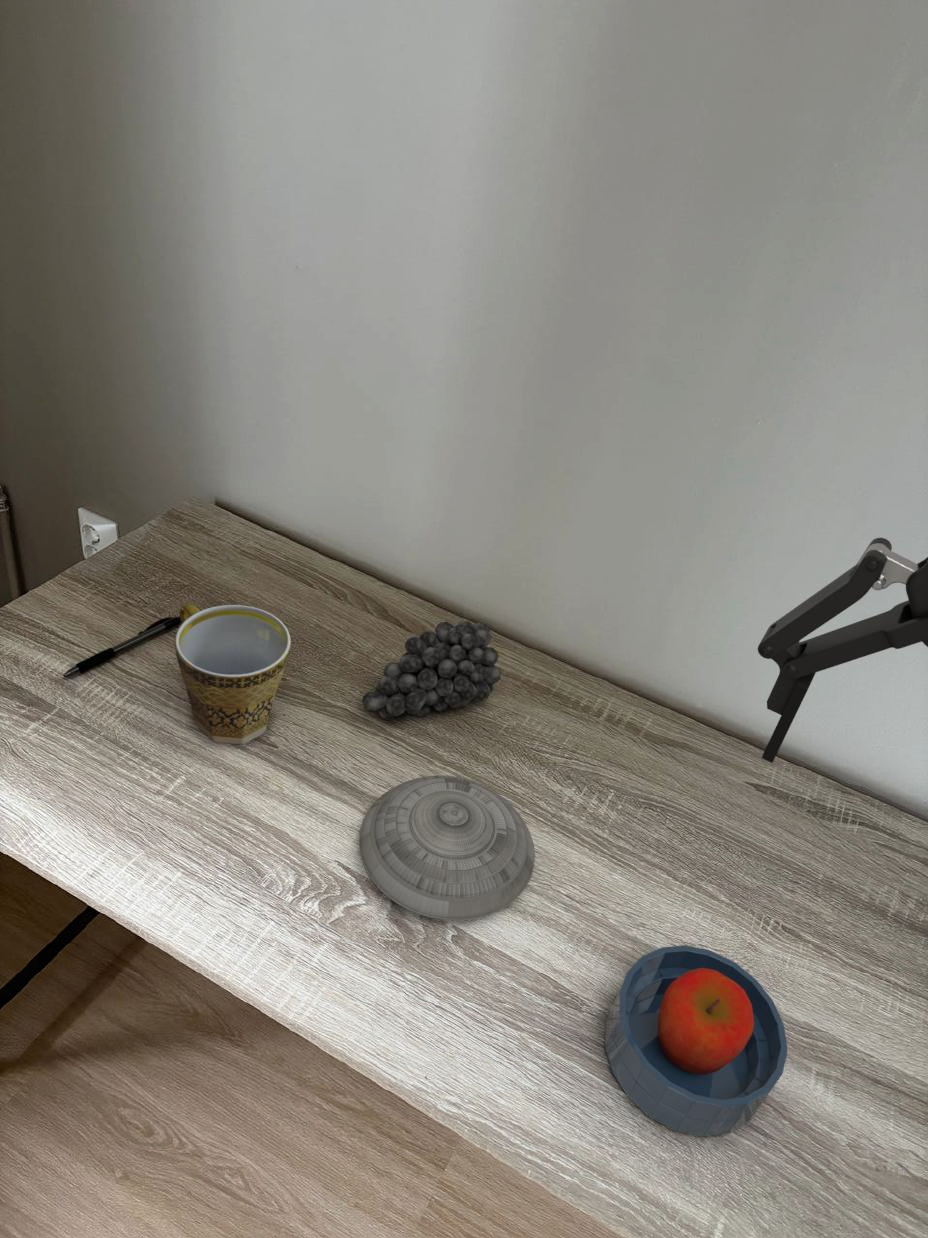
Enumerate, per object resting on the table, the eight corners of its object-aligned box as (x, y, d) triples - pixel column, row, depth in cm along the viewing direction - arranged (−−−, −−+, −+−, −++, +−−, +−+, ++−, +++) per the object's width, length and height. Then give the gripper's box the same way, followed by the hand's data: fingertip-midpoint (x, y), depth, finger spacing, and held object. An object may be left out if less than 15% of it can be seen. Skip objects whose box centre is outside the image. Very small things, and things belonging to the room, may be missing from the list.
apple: (646, 1089, 69) (676, 1034, 65) (639, 1009, 74) (666, 952, 70) (733, 1101, 70) (768, 1047, 65) (720, 1020, 75) (752, 965, 70)
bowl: (797, 1096, 71) (822, 1062, 68) (669, 1170, 66) (690, 1136, 63) (694, 961, 79) (712, 924, 76) (572, 1017, 74) (587, 980, 71)
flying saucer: (414, 764, 92) (422, 722, 88) (559, 838, 87) (572, 797, 84) (322, 873, 81) (326, 829, 77) (481, 964, 76) (493, 922, 73)
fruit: (378, 667, 88) (514, 623, 95) (337, 638, 94) (467, 599, 101) (387, 751, 91) (517, 702, 98) (346, 717, 98) (471, 674, 105)
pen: (178, 616, 103) (178, 607, 102) (188, 623, 102) (188, 615, 102) (58, 674, 94) (56, 665, 93) (68, 683, 93) (67, 674, 92)
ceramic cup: (308, 726, 93) (313, 646, 87) (220, 775, 87) (219, 693, 81) (226, 655, 100) (226, 575, 93) (138, 696, 93) (132, 613, 87)
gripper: (1308, 579, 49) (1082, 852, 61) (819, 409, 57) (710, 682, 69) (1330, 655, 43) (1077, 937, 56) (785, 455, 51) (673, 742, 64)
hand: (873, 797), depth 63 cm, fingers open, 13 cm apart
